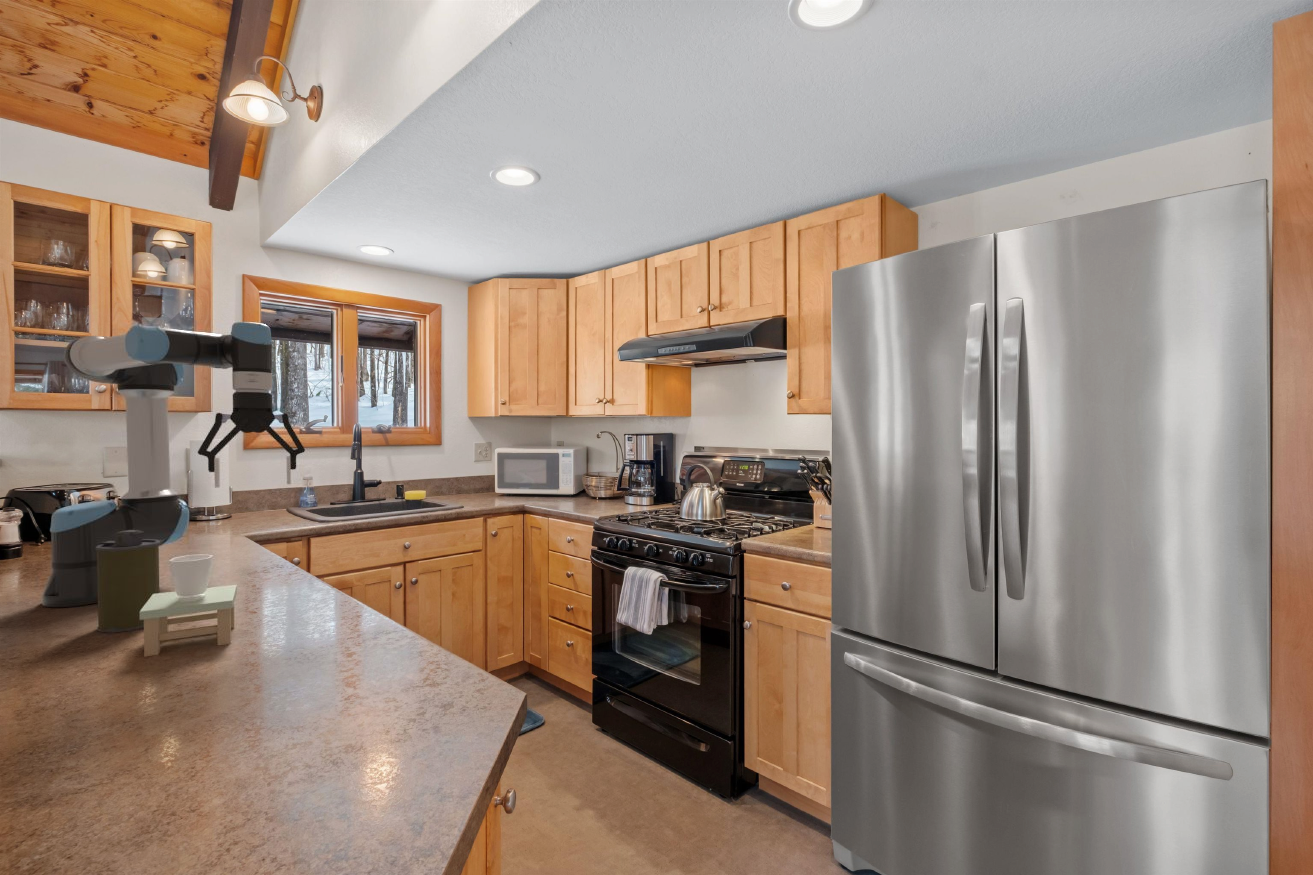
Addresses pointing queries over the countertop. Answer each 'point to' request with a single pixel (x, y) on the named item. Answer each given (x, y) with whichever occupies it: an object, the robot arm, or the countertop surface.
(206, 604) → the stool
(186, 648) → the countertop surface
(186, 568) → the cup
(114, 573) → the canister
